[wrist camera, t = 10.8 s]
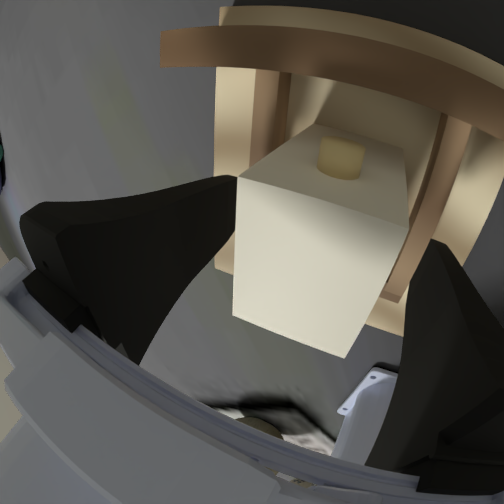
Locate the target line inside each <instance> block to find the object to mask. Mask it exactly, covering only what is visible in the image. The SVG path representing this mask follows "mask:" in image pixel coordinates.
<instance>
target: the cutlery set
mask: <svg viewBox="0 0 504 504" xmlns="http://www.w3.org/2000/svg"><path fill="white" fill-rule="evenodd" d="M2 155H3V147H2V146H1V145H0V161H1V158H2ZM1 189H2V178H1V169H0V195H1Z"/></svg>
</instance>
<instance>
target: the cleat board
mask: <svg viewBox="0 0 504 504" xmlns="http://www.w3.org/2000/svg"><path fill="white" fill-rule="evenodd" d="M163 67H217V69H216V95H215V134H214V176H220V175H232V176H236V177H238V176H239V175H240V174H242V173H243V172H244V171H246V170H247V169H249V168H250V167H251V166H253V165H254V164H255V163H257V162H258V161H260V160H261V159H262V158H264V157H265V156H267V155H268V154H270V153H271V152H272V151H274V150H275V149H277V148H278V147H280V146H281V145H282V144H284V143H285V142H287V141H288V140H290V139H291V138H293V137H294V136H296V135H297V134H299V133H300V132H302V131H303V130H305V129H306V128H308V127H309V126H311V125H312V124H318V125H322V126H327V127H331V128H335V129H339V130H342V131H346V132H350V133H354V134H357V135H361V136H364V137H368V138H371V139H374V140H377V141H381V142H384V143H387V144H390V145H393V146H396V147H399V148H402V149H403V156H404V164H405V173H406V184H407V197H408V213H409V231H408V233H407V236H406V238H405V240H404V243H403V245H402V247H401V250H400V252H399V254H398V257H397V259H396V261H395V263H394V266H393V268H392V270H391V272H390V274H389V276H388V278H387V280H386V283H385V285H384V287H383V289H382V291H381V293H380V295H379V297H378V299H377V301H376V303H375V305H374V307H373V308H372V310H371V312H370V314H369V316H368V318H367V320H366V322H365V324H368V325H370V326H373V327H376V328H379V329H382V330H385V331H388V332H391V333H394V334H397V335H400V336H403V335H404V321H405V306H406V300H407V294H408V288H409V282H410V280H411V278H412V276H413V274H414V272H415V270H416V268H417V266H418V264H419V262H420V260H421V258H422V256H423V254H424V252H425V250H426V248H427V246H428V243H429V241H430V239H431V238H432V239H435V240H437V241H440V242H442V243H445V244H446V245H447V246H448V247H449V248H450V250H451V251H452V253H453V254H454V255H455V257H456V258H457V260H458V261H459V263H460V265H461V266H463V264H464V262H465V260H466V259H467V257H468V255H469V253H470V251H471V249H472V247H473V245H474V243H475V242H476V240H477V238H478V236H479V234H480V231H481V229H482V227H483V225H484V223H485V221H486V219H487V217H488V214H489V212H490V210H491V208H492V205H493V203H494V200H495V198H496V196H497V193H498V191H499V188H500V186H501V183H502V180H503V178H504V66H503V65H501V64H499V63H497V62H495V61H493V60H491V59H489V58H487V57H485V56H483V55H481V54H479V53H477V52H475V51H473V50H470V49H468V48H466V47H464V46H461V45H459V44H456V43H454V42H452V41H449V40H446V39H444V38H441V37H439V36H436V35H433V34H430V33H427V32H424V31H421V30H418V29H415V28H412V27H408V26H405V25H401V24H398V23H394V22H390V21H386V20H382V19H377V18H373V17H368V16H363V15H358V14H352V13H347V12H340V11H333V10H325V9H317V8H306V7H292V6H231V7H220V15H219V26H206V27H194V28H184V29H175V30H168V31H161V40H160V68H163ZM234 252H235V231H234V233H233V234H232V236H231V237H230V239H229V240H228V241H227V243H226V244H225V245H224V246H223V247H222V248H221V249H220V250H219V252H218V253H217V254H216V255H215V268H216V269H219V270H222V271H224V272H227V273H229V274H232V275H234Z"/></svg>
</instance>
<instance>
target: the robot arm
mask: <svg viewBox="0 0 504 504" xmlns="http://www.w3.org/2000/svg"><path fill="white" fill-rule="evenodd" d="M237 178H238V177H236V176H232V175H220V176H214V177H210V178H206V179H202V180H198V181H194V182H190V183H186V184H183V185H179V186H175V187H171V188H167V189H163V190H159V191H154V192H150V193H145V194H140V195H134V196H128V197H121V198H113V199H105V200H95V201H79V202H42V203H39V204H37V205H36V206H34V207H33V208H31V209H30V210H28V211H27V212H25V213H24V214H23V215H21V217H20V222H19V223H20V230H21V234H22V237H23V239H24V242H25V244H26V247H27V249H28V251H29V254H30V256H31V258H32V261H33V263H34V265H35V267H36V269H35V270H34V271H33V272H32V273H31V272H30V271H29V269H28V268H27V267H26V266H25V265H24V264H23V263H22V262H21V261H20V260H19V259H18V258H17V257H14V258H13V259H11V260H10V261H9V262H8V263H7V264H5V265H4V266H3V267H2V268H1V269H0V347H1V348H2V350H3V352H4V353H5V355H6V357H7V358H8V360H9V362H10V363H11V365H12V366H13V368H14V370H13V371H12V372H11V373H10V374H9V375H8V376H7V377H6V378H5V380H4V382H5V390H6V392H7V393H8V395H9V396H10V398H11V399H12V401H13V403H14V405H15V406H16V407H17V409H18V410H19V411H20V412H21V414H22V415H23V416H22V417H21V419H20V420H19V421H18V422H17V423H16V424H15V426H14V427H13V428H12V429H11V431H10V432H9V433H8V434H7V435H6V437H5V438H4V439H3V441H2V442H1V443H0V504H504V329H503V328H502V326H501V325H500V324H499V322H498V321H497V319H496V318H495V317H494V315H493V314H492V312H491V311H490V310H489V308H488V307H487V305H486V304H485V302H484V301H483V299H482V298H481V296H480V294H479V293H478V291H477V290H476V288H475V287H474V285H473V284H472V282H471V280H470V279H469V277H468V276H467V274H466V272H465V271H464V269H463V268H462V266H461V265H460V263H459V261H458V260H457V258H456V257H455V255H454V254H453V253H452V251H451V250H450V248H449V247H448V246H447V245H446V244H445V243H442V242H440V241H437V240H435V239H432V238H431V239H430V241H429V243H428V246H427V248H426V250H425V252H424V254H423V256H422V258H421V260H420V262H419V264H418V266H417V268H416V270H415V272H414V274H413V276H412V278H411V280H410V282H409V288H408V294H407V300H406V306H405V321H404V335H403V346H402V356H401V362H400V368H399V372H398V374H397V373H394V372H391V371H388V370H384V369H381V368H378V367H374V368H372V369H371V370H370V371H369V372H368V373H367V375H366V376H365V377H364V378H363V380H362V381H361V382H360V383H359V385H358V386H357V387H356V388H355V390H354V391H353V392H352V393H351V394H350V395H349V397H348V398H347V399H346V400H345V401H344V402H343V404H342V405H341V406H340V407H339V408H338V411H337V412H338V413H339V414H342V415H345V418H344V421H343V424H342V427H341V430H340V433H339V435H338V438H337V441H336V443H335V446H334V449H333V451H332V454H331V456H328V455H325V454H321V453H318V452H315V451H312V450H309V449H306V448H303V447H301V446H298V445H295V444H292V443H290V442H287V441H284V440H282V439H279V438H277V437H274V436H272V435H269V434H267V433H264V432H262V431H260V430H257V429H255V428H253V427H250V426H248V425H246V424H244V423H241V422H239V421H237V420H235V419H233V418H231V417H229V416H226V415H224V414H222V413H220V412H218V411H216V410H214V409H212V408H210V407H208V406H206V405H205V404H203V403H201V402H199V401H197V400H195V399H193V398H191V397H190V396H188V395H186V394H184V393H182V392H181V391H179V390H177V389H175V388H174V387H172V386H170V385H169V384H167V383H165V382H164V381H162V380H160V379H159V378H157V377H155V376H154V375H152V374H151V373H149V372H147V371H146V370H144V369H143V368H141V367H140V366H139V364H140V362H141V360H142V358H143V356H144V354H145V352H146V351H147V349H148V347H149V345H150V343H151V341H152V340H153V338H154V336H155V334H156V333H157V331H158V329H159V328H160V326H161V324H162V323H163V321H164V319H165V318H166V316H167V315H168V313H169V312H170V310H171V309H172V307H173V306H174V304H175V303H176V301H177V300H178V298H179V297H180V296H181V294H182V293H183V291H184V290H185V289H186V287H187V286H188V285H189V283H190V282H191V281H192V280H193V279H194V278H195V276H196V275H197V274H198V273H199V272H200V271H201V270H202V269H203V268H204V267H205V266H206V265H207V263H208V262H209V261H210V260H211V259H212V258H213V257H214V256H215V255H216V254H217V253H218V252H219V250H220V249H221V248H222V247H223V246H224V245H225V244H226V243H227V241H228V240H229V239H230V237H231V236H232V234H233V233H234V231H235V225H236V200H237ZM264 466H265V467H264ZM266 467H267V468H270V469H273V470H275V471H278V472H281V473H283V474H286V475H289V476H292V477H295V478H298V479H301V480H304V481H307V482H310V483H313V484H317V486H310V487H308V488H304V487H302V486H299V485H297V484H294V483H292V482H289V481H287V480H284V479H282V478H280V477H277V476H275V474H274V472H272V471H271V470H269V469H267V468H266Z"/></svg>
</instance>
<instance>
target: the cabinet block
mask: <svg viewBox="0 0 504 504" xmlns="http://www.w3.org/2000/svg"><path fill="white" fill-rule="evenodd" d="M408 231H409V213H408V197H407V184H406V173H405V164H404V156H403V149H402V148H399V147H396V146H393V145H390V144H387V143H384V142H381V141H377V140H374V139H371V138H368V137H364V136H361V135H357V134H354V133H350V132H346V131H342V130H339V129H335V128H331V127H327V126H322V125H318V124H312V125H311V126H309V127H308V128H306V129H305V130H303V131H302V132H300V133H299V134H297V135H296V136H294V137H293V138H291V139H290V140H288V141H287V142H285V143H284V144H282V145H281V146H280V147H278V148H277V149H275V150H274V151H272V152H271V153H270V154H268V155H267V156H265V157H264V158H262V159H261V160H260V161H258V162H257V163H255V164H254V165H253V166H251V167H250V168H249V169H247V170H246V171H244V172H243V173H242V174H240V175H239V176H238V178H237V200H236V225H235V252H234V283H233V315H234V316H236V317H238V318H241V319H243V320H246V321H248V322H250V323H253V324H255V325H258V326H260V327H262V328H265V329H267V330H270V331H272V332H275V333H277V334H280V335H282V336H285V337H288V338H290V339H293V340H295V341H298V342H301V343H303V344H306V345H309V346H311V347H314V348H317V349H319V350H322V351H325V352H328V353H330V354H333V355H336V356H339V357H342V358H345V356H346V355H347V353H348V351H349V350H350V348H351V346H352V345H353V343H354V341H355V339H356V338H357V336H358V334H359V332H360V331H361V329H362V327H363V325H364V323H365V322H366V320H367V318H368V316H369V314H370V312H371V310H372V308H373V307H374V305H375V303H376V301H377V299H378V297H379V295H380V293H381V291H382V289H383V287H384V285H385V283H386V280H387V278H388V276H389V274H390V272H391V270H392V268H393V266H394V263H395V261H396V259H397V257H398V254H399V252H400V250H401V247H402V245H403V243H404V240H405V238H406V236H407V233H408Z"/></svg>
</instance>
